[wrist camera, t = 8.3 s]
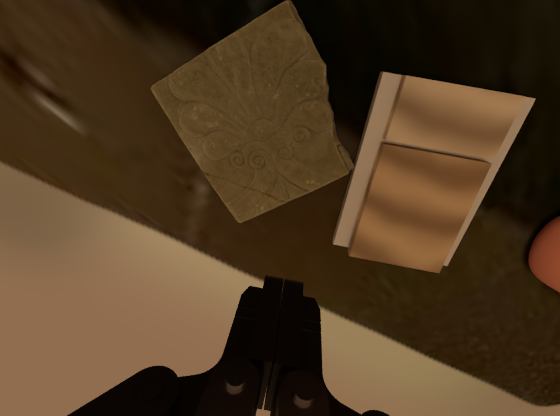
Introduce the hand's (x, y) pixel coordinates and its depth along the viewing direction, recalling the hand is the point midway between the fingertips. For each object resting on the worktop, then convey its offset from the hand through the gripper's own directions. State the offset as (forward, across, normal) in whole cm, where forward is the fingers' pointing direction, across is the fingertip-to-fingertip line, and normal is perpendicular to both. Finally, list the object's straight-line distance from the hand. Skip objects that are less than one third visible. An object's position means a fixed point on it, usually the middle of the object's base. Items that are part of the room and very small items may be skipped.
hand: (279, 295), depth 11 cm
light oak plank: (+25, -15, -6) cm, 30 cm away
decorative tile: (+28, +5, -1) cm, 28 cm away
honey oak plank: (+25, -15, +6) cm, 30 cm away
